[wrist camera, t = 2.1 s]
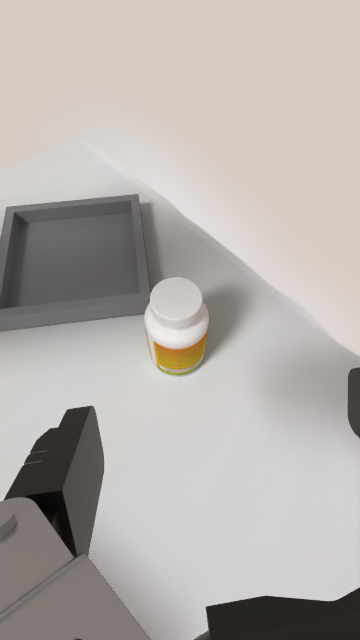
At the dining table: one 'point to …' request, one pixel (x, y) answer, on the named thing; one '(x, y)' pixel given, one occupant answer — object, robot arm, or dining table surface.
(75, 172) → the dining table surface
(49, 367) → the dining table surface
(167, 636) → the dining table surface
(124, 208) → the tray
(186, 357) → the supplement bottle
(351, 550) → the dining table surface
